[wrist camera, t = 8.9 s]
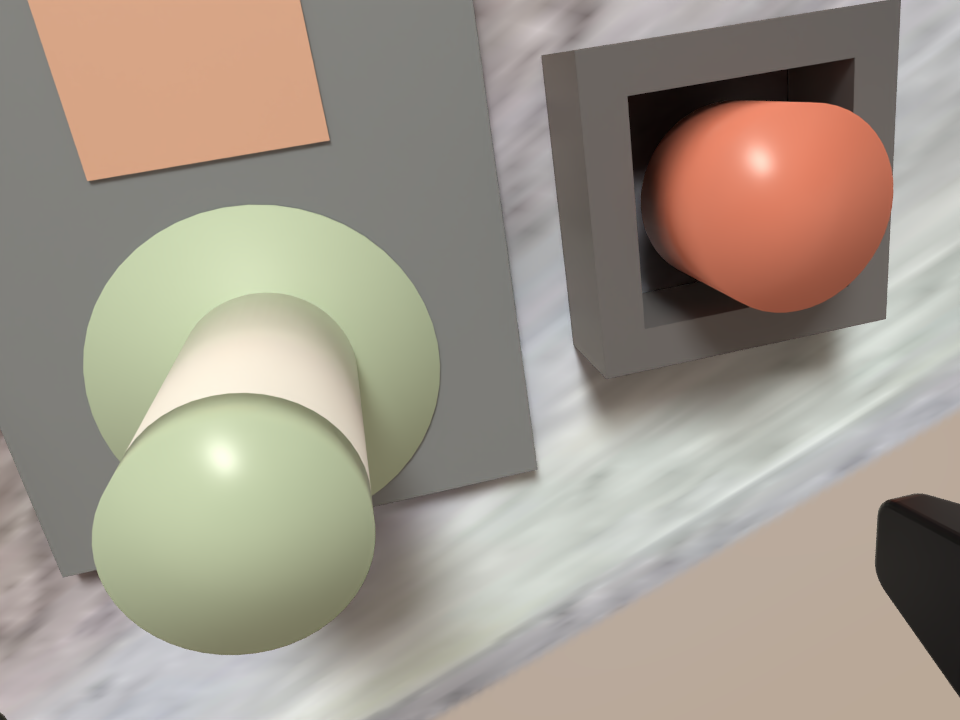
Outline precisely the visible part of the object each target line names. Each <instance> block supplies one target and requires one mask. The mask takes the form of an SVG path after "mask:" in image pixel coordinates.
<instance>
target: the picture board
mask: <svg viewBox="0 0 960 720" xmlns="http://www.w3.org/2000/svg"><path fill="white" fill-rule="evenodd" d="M254 293H279V294H286V295H290V296H294V297H297V298H300V299H303V300H305V301H308V302H309V303H311V304H313V305H315V306H317V307H318V308H320V309H321V310H323V311H324V312H326V313H327V314H328V315H329V316H330V317H331V318H332V319H334V320H335V321H336V323H337V324H338V325H339V326H340V327H341V328H342V330H343V331H344V333H345V334H346V336H347V338H348V339H349V342H350V344H351V346H352V348H353V351H354V355H355V358H356V364H357V371H358V380H359V389H360V398H361V406H362V415H363V424H364V433H365V442H366V451H367V460H368V468H369V477H370V486H371V495H372V504H373V507H375V506H379V505H384V504H388V503H393V502H397V501H401V500H406V499H410V498H415V497H419V496H423V495H428V494H432V493H437V492H441V491H445V490H450V489H454V488H459V487H463V486H467V485H472V484H476V483H481V482H485V481H489V480H494V479H498V478H503V477H507V476H511V475H516V474H520V473H525V472H529V471H533V470H537V462H536V455H535V448H534V441H533V433H532V426H531V419H530V412H529V404H528V397H527V390H526V383H525V376H524V368H523V361H522V354H521V347H520V339H519V332H518V325H517V318H516V310H515V303H514V296H513V289H512V282H511V274H510V267H509V260H508V253H507V245H506V238H505V231H504V224H503V216H502V209H501V202H500V195H499V188H498V180H497V173H496V166H495V159H494V151H493V144H492V137H491V130H490V123H489V115H488V108H487V101H486V94H485V86H484V79H483V72H482V65H481V57H480V50H479V43H478V36H477V29H476V21H475V14H474V7H473V0H0V429H1V431H2V434H3V436H4V438H5V441H6V443H7V446H8V448H9V450H10V453H11V455H12V457H13V460H14V462H15V465H16V467H17V469H18V472H19V474H20V477H21V479H22V481H23V484H24V486H25V488H26V491H27V493H28V496H29V498H30V500H31V503H32V505H33V507H34V510H35V512H36V515H37V517H38V519H39V522H40V524H41V527H42V529H43V531H44V534H45V536H46V538H47V541H48V543H49V546H50V548H51V550H52V553H53V555H54V557H55V560H56V562H57V565H58V567H59V569H60V572H61V574H62V576H63V577H67V576H72V575H76V574H81V573H85V572H89V571H94V570H97V569H96V566H95V563H94V557H93V550H92V528H93V522H94V517H95V512H96V510H97V507H98V504H99V501H100V498H101V496H102V495H103V493H104V491H105V489H106V487H107V485H108V484H109V482H110V480H111V478H112V476H113V474H114V473H115V471H116V469H117V467H118V465H119V463H120V461H121V460H122V458H123V456H124V454H125V452H126V450H127V449H128V447H129V445H130V443H131V441H132V439H133V438H134V436H135V434H136V432H137V430H138V428H139V426H140V425H141V423H142V421H143V419H144V417H145V415H146V414H147V412H148V410H149V408H150V406H151V404H152V403H153V401H154V399H155V397H156V395H157V393H158V392H159V390H160V388H161V386H162V384H163V382H164V380H165V379H166V377H167V375H168V373H169V371H170V369H171V368H172V366H173V364H174V362H175V360H176V358H177V357H178V355H179V353H180V351H181V349H182V347H183V345H184V344H185V342H186V340H187V338H188V336H189V334H190V333H191V331H192V330H193V328H194V327H195V326H196V324H197V323H198V322H199V321H200V320H201V319H202V318H203V317H204V316H205V315H206V314H207V313H209V312H210V311H211V310H213V309H214V308H215V307H217V306H219V305H221V304H222V303H224V302H226V301H229V300H231V299H234V298H236V297H240V296H243V295H247V294H254Z"/></svg>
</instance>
